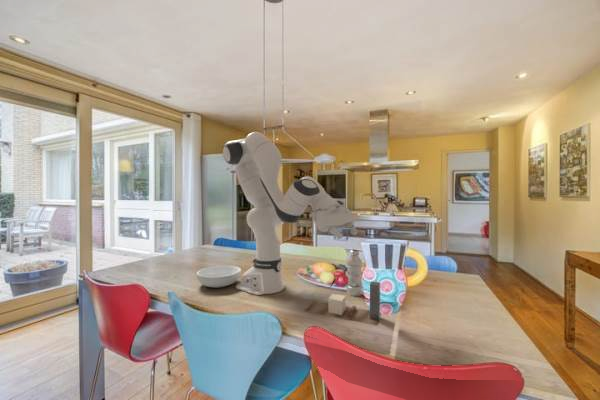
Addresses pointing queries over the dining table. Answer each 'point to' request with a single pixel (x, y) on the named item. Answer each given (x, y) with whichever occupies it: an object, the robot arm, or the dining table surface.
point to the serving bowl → (218, 276)
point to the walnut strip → (354, 308)
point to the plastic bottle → (354, 274)
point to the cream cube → (336, 304)
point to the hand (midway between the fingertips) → (348, 235)
